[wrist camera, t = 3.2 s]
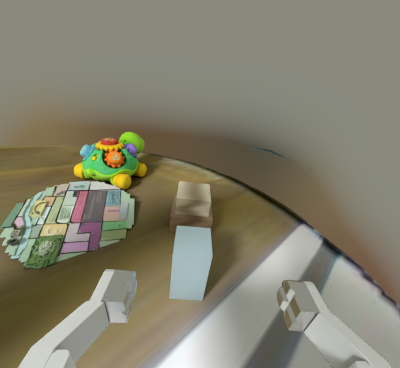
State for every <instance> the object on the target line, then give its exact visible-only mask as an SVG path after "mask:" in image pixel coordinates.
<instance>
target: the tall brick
mask: <svg viewBox="0 0 400 368" xmlns="http://www.w3.org/2000/svg"><path fill="white" fill-rule="evenodd" d="M212 257H213V255H212V242H211V229H210V228H201V227H189V226H178V225H177V228H176V235H175V242H174V249H173V258H172V271H171V285H170V298H169V299H184V300H200V301H203V296H204V292H205V287H206V283H207V279H208V274H209V270H210V265H211V261H212Z"/></svg>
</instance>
